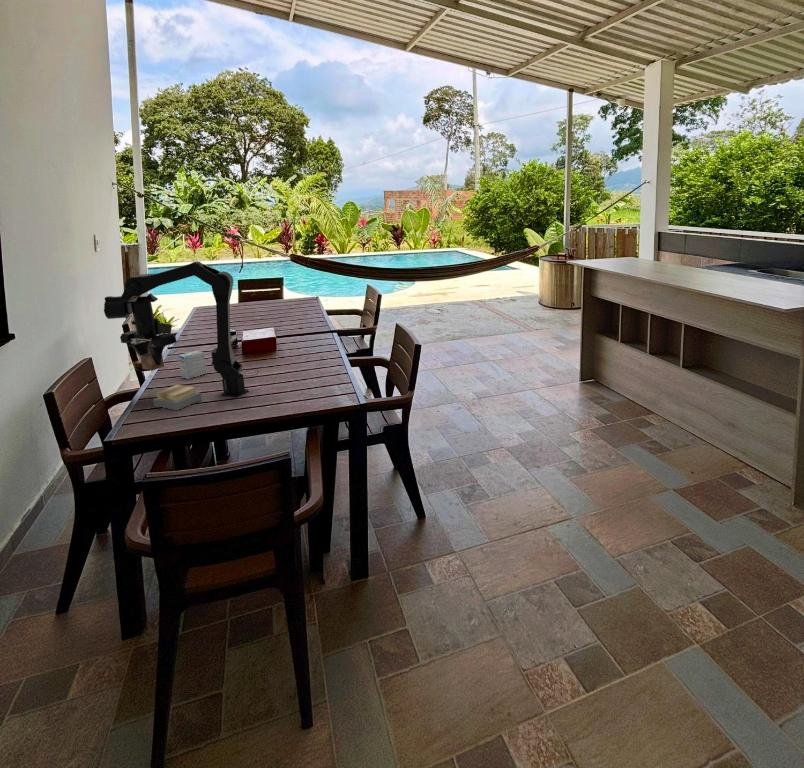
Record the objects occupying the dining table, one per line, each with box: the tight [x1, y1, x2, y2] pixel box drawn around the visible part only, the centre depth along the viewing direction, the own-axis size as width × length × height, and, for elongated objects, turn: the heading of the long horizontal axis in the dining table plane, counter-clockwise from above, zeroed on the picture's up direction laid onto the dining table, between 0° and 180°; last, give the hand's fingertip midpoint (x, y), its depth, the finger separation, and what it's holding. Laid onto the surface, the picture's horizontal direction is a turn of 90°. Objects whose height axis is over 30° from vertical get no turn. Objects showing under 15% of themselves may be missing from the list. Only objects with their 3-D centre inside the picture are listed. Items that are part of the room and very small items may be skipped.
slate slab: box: [152, 391, 203, 411], centre depth 176 cm, size 10×10×2 cm
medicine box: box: [177, 350, 207, 380], centre depth 202 cm, size 8×4×9 cm, turn 141°
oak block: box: [156, 384, 197, 402], centre depth 175 cm, size 8×8×2 cm
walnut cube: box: [139, 351, 165, 371], centre depth 177 cm, size 4×4×4 cm
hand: (153, 364), depth 177 cm, fingers closed on walnut cube, 4 cm apart
